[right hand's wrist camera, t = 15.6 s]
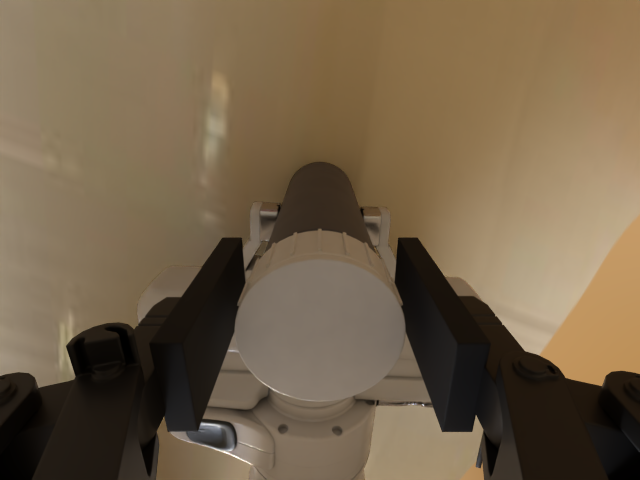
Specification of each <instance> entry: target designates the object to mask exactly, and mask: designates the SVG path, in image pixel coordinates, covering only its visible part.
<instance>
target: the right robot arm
mask: <svg viewBox="0 0 640 480" xmlns="http://www.w3.org/2000/svg"><path fill="white" fill-rule="evenodd" d="M245 283H246V281H245V270H244V258H243V247H242V238H222V239H221V241H220V242H219V244H218V245H217V246H216V248H215V249H214V251H213V252H212V254H211V255H210V256H209V258H208V259H207V261H206V262H205V264H204V265H203V266H202V268H201V269H200V271H199V272H198V274H197V275H196V276H195V278H194V279H193V281H192V282H191V284H190V285H189V287H188V288H187V289H186V291H185V292H184V294H183V295H182V297H166V298H164V299H163V300H161V301H160V302H158V303H157V304H155V305H153V307H152V308H151V309H150V310H149V312H148V313H147V314H146V315H145V318H143V319H142V320H141V321H140V323H139V324H138V326H136V328H135V329H134V330H133V328H132V327H131V326H129V325H128V324H123V323H107V324H103V325H99V326H95V327H92V328H90V329H88V330H85V331H83V332H81V333H80V334H78V335H77V336H75V337H74V338H72V340H71V341H70V342H69V343H68V344H67V345H66V348H67V351H68V354H69V357H70V360H71V363H72V366H73V370H74V373H75V376H76V377H75V379H74V380H71V381H68V382H63V383H58V384H54V385H49V386H44V387H40V388H38V385H37V383H36V380H35V377H33V376H32V375H30V374H29V373H20V372H18V373H12V374H6V375H2V376H0V480H156V473H157V463H158V453H159V440H158V435H157V429H158V427H159V425H160V423H161V421H162V419H163V417H164V416H165V421H166V426H167V430H168V432H198V430H199V427H200V424H201V421H202V419H203V416H204V413H205V411H206V408H207V405H208V402H209V400H210V397H211V394H212V391H213V389H214V386H215V383H216V381H217V378H218V375H219V372H220V370H221V367H222V364H223V362H224V359H225V356H226V353H227V351H228V348H229V345H230V342H231V340H232V337H233V334H234V332H235V329H234V328H235V319H236V315H237V311H238V308H239V306H237V304H238V301H239V298H240V296H241V293H242V291H243V288H244V286H245ZM394 283H395V285H396V288H397V290H398V293H399V295H400V298H401V300H402V303H403V305H402V306H401V307H402V310H403V313H404V318H405V324H406V334H407V337H408V340H409V342H410V345H411V348H412V351H413V353H414V356H415V359H416V362H417V364H418V367H419V370H420V372H421V375H422V378H423V381H424V383H425V386H426V389H427V392H428V394H429V397H430V400H431V402H432V405H433V408H434V411H435V413H436V416H437V419H438V422H439V424H440V427H441V430H442V432H472V430H473V425H474V421H475V416H476V415H477V417H478V419H479V421H480V423H481V425H482V427H483V430H484V431H483V435H482V439H481V444H480V448H479V452H478V457H477V462H476V467H478V468H481V464H482V462H483V472H484V480H640V374H637V373H632V372H626V371H615V372H611V373H609V374H608V375H606V377H605V380H604V383H603V385H602V386H598V385H593V384H589V383H584V382H580V381H575V380H571V379H567V378H565V376H564V375H563V373H562V372H561V371H560V369H559V368H558V367H557V366H555V365H554V364H553V363H552V362H550V361H549V360H547V359H545V358H543V357H541V356H539V355H536V354H533V353H529V352H526V351H524V350H523V348H522V347H521V346H520V345H519V343H518V342H517V341H516V340H515V338H514V337H513V336H512V335H511V333H510V332H509V331H508V330H507V329H506V327H505V326H504V325H502V322H501V321H500V320H499V319H498V317H495V314H494V313H493V311H492V310H491V309H490V308H489V306H488V305H487V304H485V303H484V302H482V301H481V300H479V299H478V298H476V297H475V296H458V295H457V294H456V292H455V291H454V289H453V288H452V287H451V285H450V284H449V282H448V281H447V279H446V278H445V277H444V275H443V274H442V272H441V271H440V269H439V268H438V266H437V265H436V264H435V262H434V261H433V259H432V258H431V256H430V255H429V254H428V252H427V251H426V249H425V248H424V246H423V245H422V244H421V242H420V241H419V239H418V238H398V247H397V258H396V270H395V281H394Z"/></svg>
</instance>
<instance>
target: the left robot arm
mask: <svg viewBox="0 0 640 480" xmlns="http://www.w3.org/2000/svg"><path fill="white" fill-rule="evenodd" d="M280 209H281V204H280V203H269V202H254V203H253V205H252V206H251V211H250V237H249V238H248V240H247V242H246V243H245V245H244V247H243V258H244V270H245V281H247V278H248V277H250V275H251V272H252V270H253V267H254V265H255V262H256V260H257V258H259V259H260V258H261V256H260V255H255V253H256V251H257V250H258V248H259V246H260V245H261V243H262V241H269V239H270V237H271V234H272V231H273V228H274V225H275V223H276V220H277V217H278V214H279V211H280ZM360 211H361V214H362V217H363V219H364V222H365V225H366V228H367V230H368V233H369V236H370V239H371V242H372V244H373V246H376V248H377V250H378V252H379V254H380V256H381V258H383V260H384V262H385V264H386V267H387V269H388V272H389V274H390V277H392V278H393V280H394V281H395V270H396V259H395V256H394V254H393V252H392V250H391V248H390V246H389V244H388V238H389V230H390V222H391V219H390V212H389V211H388V209H387V208H385V207H361V208H360ZM201 268H202V267H196V266H169V267H167V268H165V269H164V270H163V271H162V272H161V273H160V274H159V275H158V276H157V277H156V278H155V279H154V280H153V281H152V282H151V283H150V284H149V285H148V286H147V288H146V289H145V290H144V292H143V293H142V295H141V296H140V298H139V301H138V304H137V315H138V322H139V323H140V321H141V320H142V319H143V318H145V315H146V314H147V313H148V312H149V310H150V309H151V308H152V307H153V305H155V304H157V303H158V302H160V301H161V300H163V299H164V298H166V297H182V295H183V294H184V292H185V291H186V289H187V288H188V287H189V285H190V284H191V282H192V281H193V279H194V278H195V276H196V275H197V274H198V272H199V271H200V269H201ZM445 278H446V279H447V281H448V282H449V284H450V285H451V287H452V288H453V289H454V291H455V292H456V294H457V295H458V296H475V297H476V298H478V299H479V300H481V298H480V297H479V295H478V294H477V293H476V292H475V291H474V290H473V288H472V287H471V286H470V285H469V284H468V283H467V282H466V281H465V280H463V279H462V278H457V277H445ZM481 301H482V300H481ZM482 302H483V301H482ZM377 405H381V406H407V405H421V406H423V407H433V405H432V402H431V400H430V397H429V394H428V392H427V389H426V386H425V383H424V381H423V378H422V375H421V372H420V370H419V367H418V364H417V362H416V359H415V356H414V353H413V351H412V348H411V345H410V342H409V340H408V337H407V334H406V335H405V341H404V345H403V349H402V352H401V354H400V356H399V358H398V360H397V362H396V363H395V365H394V366H393V368H392V369H391V370H390V372H389V373H388V374H387V375H386V376H385V377H384V378H383V379H382V380H380V381H379V382H378V383H377V384H375V385H374V386H372V387H371V388H369V389H367V390H365V391H363V392H361V393H359V394H356V395H354V396H351V397H348V398H344V399H339V400H333V401H308V400H301V399H297V398H292V397H289V396H286V395H284V394H281V393H279V392H277V391H275V390H273V389H271V388H270V387H268V386H266V385H265V384H264V383H262V382H261V381H260V380H259V379H257V378H256V377H255V376H254V375H253V374H252V373H251V371H250V370H249V369H248V367H247V366H246V365H245V363H244V361H243V360H242V358H241V356H240V353H239V351H238V348H237V344H236V340H235V332H234V334H233V337H232V340H231V342H230V345H229V348H228V351H227V353H226V356H225V359H224V362H223V364H222V367H221V370H220V372H219V375H218V378H217V381H216V383H215V386H214V389H213V391H212V394H211V397H210V400H209V402H208V405H207V408H206V411H205V413H204V416H203V419H202V421H201V424H200V427H199V430H198V432H170V433H171V434H172V435H173V436H174V437H176V438H178V439H180V440H183V441H187V442H190V443H194V444H198V445H202V446H205V447H209V448H212V449H215V450H218V451H221V452H224V453H227V454H229V455H232V456H234V457H237V458H239V459H241V460H243V461H245V462H247V463H249V464H251V467H250V472H249V480H365V475H364V467H365V465H366V462H367V459H368V456H369V451H370V445H371V438H372V431H373V423H374V416H375V409H376V406H377Z"/></svg>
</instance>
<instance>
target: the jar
mask: <svg viewBox="0 0 640 480" xmlns="http://www.w3.org/2000/svg"><path fill="white" fill-rule="evenodd" d="M318 229H322V231H332V232H338V233H342V234H343V232H345V233H346V235H348V236H351V237H353V238H355V239H357V240H359V241H361V242H362V243H365V242H366V243H367V244H368V246H369V248H370V249H372V250H373V251H374V252H375V250H374V247H373V244H372V242H371V239H370V236H369V233H368V230H367V228H366V225H365V222H364V219H363V217H362V214H361V211H360V208H359V205H358V203H357V200H356V197H355V194H354V191H353V189H352V186H351V183H350V181H349V179H348V177H347V176H346V174H345V173H344V172H343V171H342V170H341V169H339V168H338V167H336V166H334V165H332V164H329V163H325V162H316V163H311V164H308V165H306V166H304V167H302V168H301V169H299V170H298V171H297V172H296V173H295V174H294V176H293V177H292V179H291V181H290V184H289V186H288V189H287V192H286V195H285V197H284V200H283V203H282V206H281V209H280V211H279V214H278V217H277V220H276V223H275V225H274V228H273V231H272V234H271V237H270V239H269V242H268V245H267V248H266V251H265V252H267V251H268V250H269V249H270V248H271V246H272V244H273V243H274V242H275V243H276V244H277V243H278V242H279V241H281V240H283V239H285V238H287V237H289V236H292V235H293V234H294V233H295V232H297V234H298V233H303V232H307V231H318ZM264 254H265V253H264Z"/></svg>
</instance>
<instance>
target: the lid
mask: <svg viewBox="0 0 640 480" xmlns="http://www.w3.org/2000/svg"><path fill="white" fill-rule="evenodd" d="M402 305H403V303H402V300H401V298H400V295H399V293H398V290H397V288H396V285H395V283H394V280H393V278H392V277H390V274H389V272H388V269H387V267H386V264H385V262H384V260H383V258H381V259H380V258H379V257H378V256H377V254H376V253H375V252H374V251H373V250H372V249H370V248H369V246H368V244H367V243H366V242H365V243H362V242H361V241H359V240H357V239H355V238H353V237H351V236H348V235H346V233H345V232H343V234H342V233H338V232H332V231H322V229H318V231H307V232H303V233H298V234H297V232H295V233H294V234H293V235H292V236H289V237H287V238H285V239H283V240H281V241H279V242H278V243H277V244H276V243H275V242H274V243H273V244H272V246H271V248H270V249H269V250H268V251H267V252H265V254H264V255H263V256H262V257H261V258H260V259H259V258H257V260H256V262H255V265H254V267H253V270H252V272H251V275H250V277H248V278H247V281H246V283H245V286H244V288H243V291H242V293H241V296H240V298H239V301H238V304H237V306H239V308H238V311H237V315H236V319H235V328H234V329H235V340H236V344H237V348H238V351H239V353H240V356H241V358H242V360H243V361H244V363H245V365H246V366H247V367H248V369H249V370H250V371H251V373H252V374H253V375H254V376H255V377H256V378H257V379H259V380H260V381H261V382H262V383H264V384H265V385H266V386H268V387H270V388H271V389H273V390H275V391H277V392H279V393H281V394H284V395H286V396H289V397H292V398H297V399H301V400H308V401H333V400H339V399H344V398H348V397H351V396H354V395H356V394H359V393H361V392H363V391H365V390H367V389H369V388H371V387H372V386H374V385H375V384H377V383H378V382H379V381H380V380H382V379H383V378H384V377H385V376H386V375H387V374H388V373H389V372H390V370H391V369H392V368H393V366H394V365H395V363H396V362H397V360H398V358H399V356H400V354H401V352H402V349H403V345H404V341H405V335H406V324H405V318H404V313H403V310H402V307H401V306H402Z"/></svg>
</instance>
